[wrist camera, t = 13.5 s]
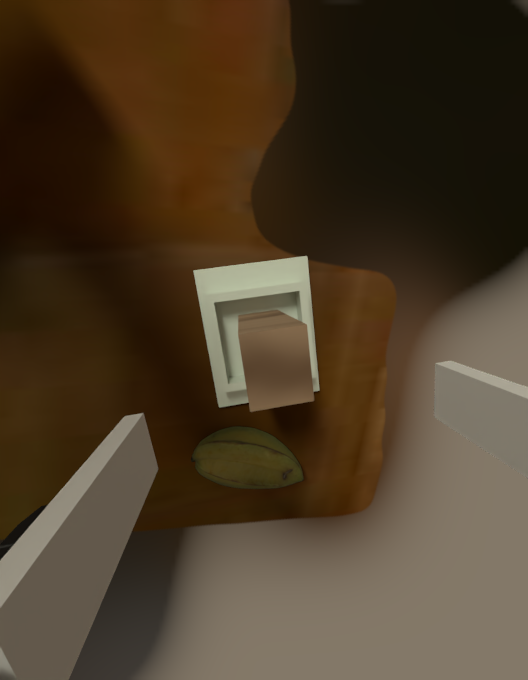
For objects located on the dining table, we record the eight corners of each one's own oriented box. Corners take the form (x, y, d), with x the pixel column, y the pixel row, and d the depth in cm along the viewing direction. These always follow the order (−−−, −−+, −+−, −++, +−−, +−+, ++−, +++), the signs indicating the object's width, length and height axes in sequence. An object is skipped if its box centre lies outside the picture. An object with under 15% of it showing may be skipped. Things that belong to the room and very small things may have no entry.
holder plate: (194, 270, 30) (189, 268, 27) (305, 256, 31) (313, 253, 28) (219, 405, 34) (217, 416, 31) (318, 389, 35) (325, 398, 32)
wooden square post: (238, 315, 31) (238, 334, 17) (277, 309, 31) (306, 324, 18) (245, 360, 32) (250, 411, 19) (282, 354, 33) (314, 400, 19)
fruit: (258, 394, 34) (262, 418, 28) (300, 456, 37) (313, 491, 30) (188, 436, 34) (177, 470, 28) (235, 495, 37) (234, 539, 31)
